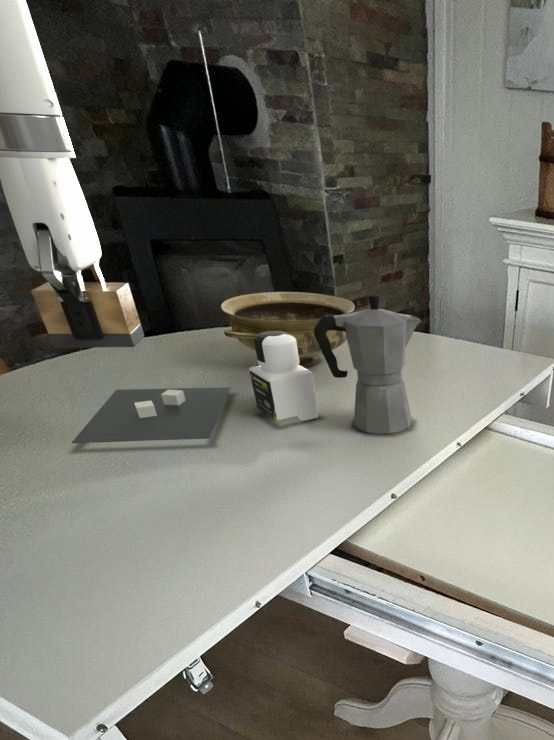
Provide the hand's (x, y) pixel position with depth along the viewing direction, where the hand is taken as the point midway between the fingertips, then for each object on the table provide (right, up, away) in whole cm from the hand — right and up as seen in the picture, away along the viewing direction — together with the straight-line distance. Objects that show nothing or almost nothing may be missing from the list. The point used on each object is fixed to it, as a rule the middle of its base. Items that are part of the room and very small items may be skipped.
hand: (96, 331), depth 72 cm
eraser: (0, -1, +1) cm, 1 cm away
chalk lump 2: (-1, 0, +21) cm, 21 cm away
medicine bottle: (+16, -2, +22) cm, 27 cm away
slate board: (-2, -4, +19) cm, 19 cm away
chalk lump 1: (-3, -4, +17) cm, 18 cm away
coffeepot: (+31, -4, +21) cm, 37 cm away
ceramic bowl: (+11, +17, +44) cm, 49 cm away
